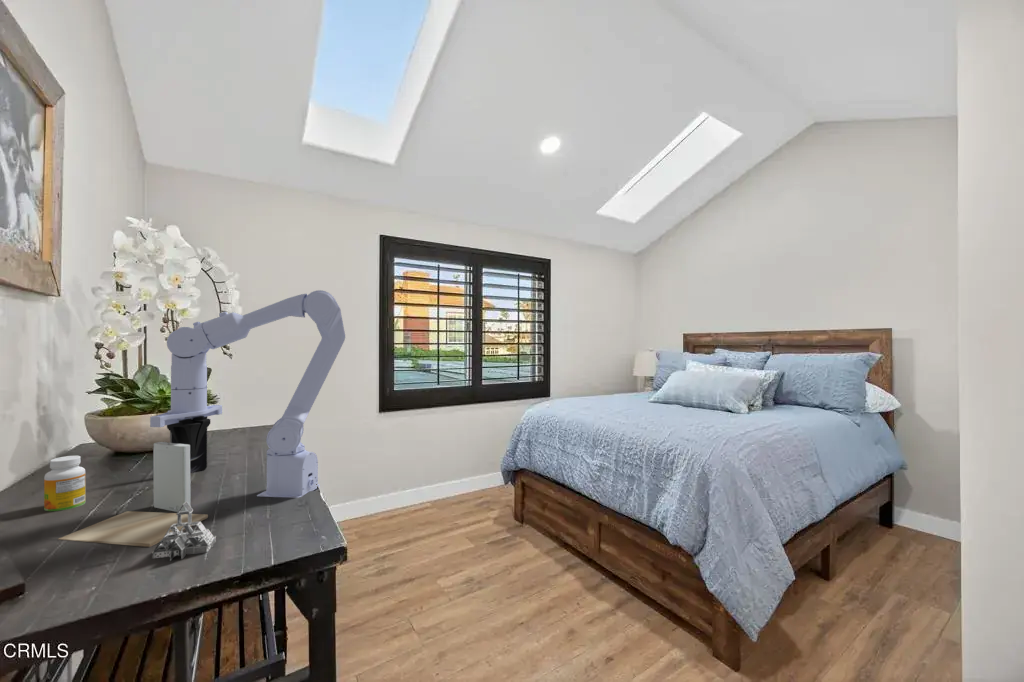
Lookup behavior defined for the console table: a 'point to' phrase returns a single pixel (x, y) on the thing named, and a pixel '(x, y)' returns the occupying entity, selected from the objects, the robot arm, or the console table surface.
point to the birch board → (132, 528)
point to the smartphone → (200, 459)
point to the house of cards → (184, 538)
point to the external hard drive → (171, 475)
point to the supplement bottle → (64, 484)
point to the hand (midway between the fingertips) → (189, 456)
